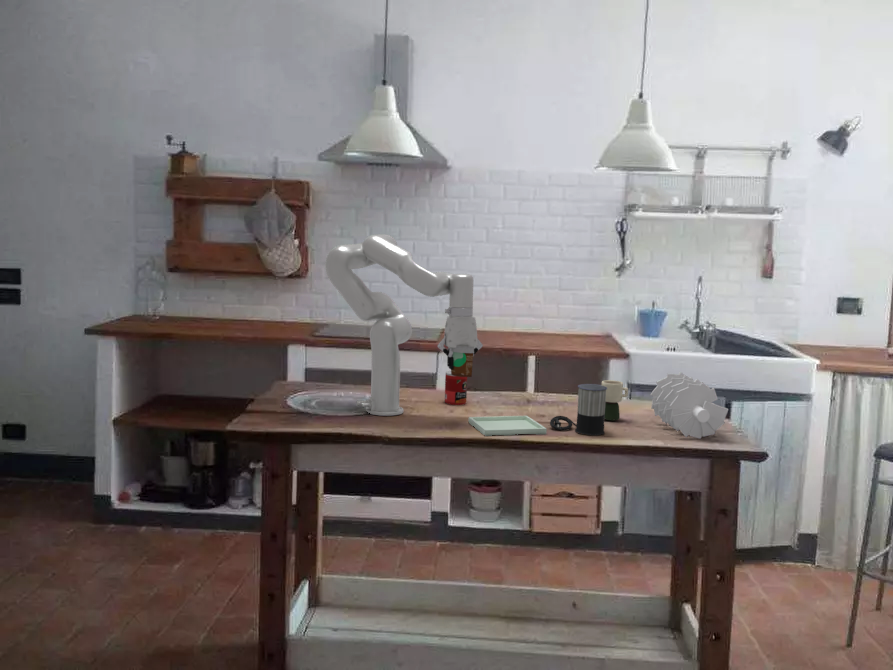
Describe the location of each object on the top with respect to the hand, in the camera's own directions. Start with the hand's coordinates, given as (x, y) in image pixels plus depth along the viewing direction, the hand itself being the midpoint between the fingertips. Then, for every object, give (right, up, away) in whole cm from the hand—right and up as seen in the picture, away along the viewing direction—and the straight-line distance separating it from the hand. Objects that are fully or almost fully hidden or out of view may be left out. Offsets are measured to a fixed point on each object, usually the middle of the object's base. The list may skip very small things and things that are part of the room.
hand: (459, 368), depth 303 cm
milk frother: (+37, -20, -4) cm, 42 cm away
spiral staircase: (+73, -21, 0) cm, 76 cm away
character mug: (+51, -18, +13) cm, 55 cm away
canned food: (-1, -14, +31) cm, 34 cm away
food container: (-1, -2, 0) cm, 3 cm away
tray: (+15, -19, -4) cm, 24 cm away
